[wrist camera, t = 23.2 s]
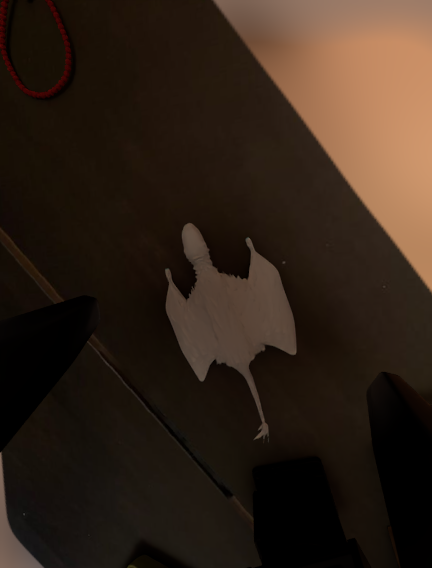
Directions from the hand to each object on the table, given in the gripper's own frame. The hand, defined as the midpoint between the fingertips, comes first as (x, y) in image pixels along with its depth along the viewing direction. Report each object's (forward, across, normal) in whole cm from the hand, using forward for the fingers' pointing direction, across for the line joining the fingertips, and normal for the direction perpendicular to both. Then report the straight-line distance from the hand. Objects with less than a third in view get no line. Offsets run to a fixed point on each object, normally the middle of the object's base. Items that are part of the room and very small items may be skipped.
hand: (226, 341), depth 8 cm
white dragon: (+11, 0, +8) cm, 14 cm away
